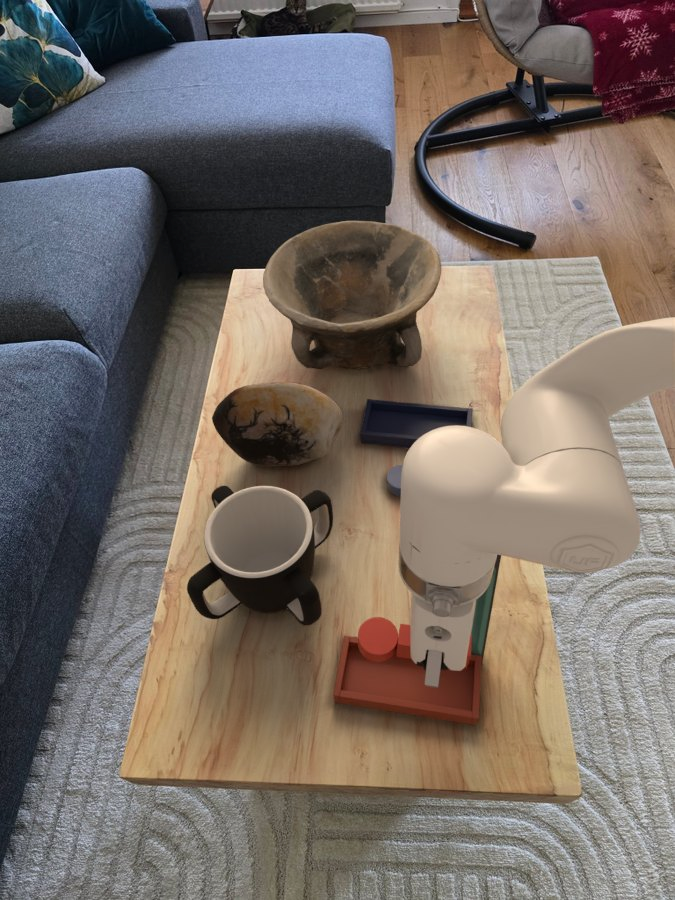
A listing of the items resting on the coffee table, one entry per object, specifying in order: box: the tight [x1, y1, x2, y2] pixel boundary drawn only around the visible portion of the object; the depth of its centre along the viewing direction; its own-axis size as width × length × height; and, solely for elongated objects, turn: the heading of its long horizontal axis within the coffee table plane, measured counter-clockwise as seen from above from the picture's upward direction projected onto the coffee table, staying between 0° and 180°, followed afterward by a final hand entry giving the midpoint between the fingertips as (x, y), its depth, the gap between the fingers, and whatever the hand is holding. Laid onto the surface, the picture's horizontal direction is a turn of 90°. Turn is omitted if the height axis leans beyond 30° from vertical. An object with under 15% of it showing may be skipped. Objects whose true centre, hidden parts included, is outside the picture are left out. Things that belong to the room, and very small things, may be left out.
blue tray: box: [359, 398, 474, 449], centre depth 98 cm, size 15×7×2 cm, turn 80°
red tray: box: [332, 635, 483, 726], centre depth 75 cm, size 15×7×2 cm, turn 80°
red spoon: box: [357, 616, 472, 668], centre depth 67 cm, size 11×4×3 cm, turn 80°
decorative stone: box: [211, 381, 344, 467], centre depth 91 cm, size 18×9×15 cm, turn 90°
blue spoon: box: [386, 464, 403, 497], centre depth 91 cm, size 11×4×3 cm, turn 80°
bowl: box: [262, 220, 442, 370], centre depth 106 cm, size 27×26×15 cm
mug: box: [186, 485, 334, 627], centre depth 80 cm, size 16×16×12 cm
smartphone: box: [471, 555, 502, 667], centre depth 74 cm, size 7×1×15 cm
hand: (433, 650), depth 68 cm, fingers closed on red spoon, 2 cm apart
